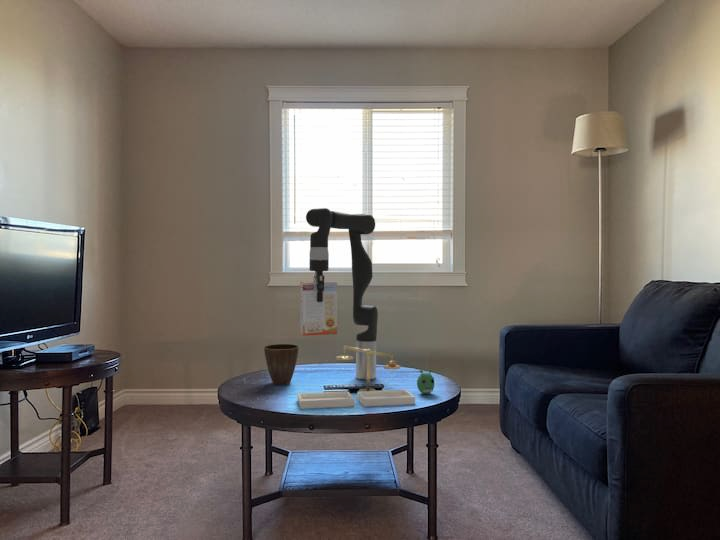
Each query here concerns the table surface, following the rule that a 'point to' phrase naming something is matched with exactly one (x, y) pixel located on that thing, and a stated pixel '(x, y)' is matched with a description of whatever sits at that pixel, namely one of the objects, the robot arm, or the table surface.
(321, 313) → the cracker box
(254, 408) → the table surface
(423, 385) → the alien toy
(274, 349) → the plant pot
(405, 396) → the dish
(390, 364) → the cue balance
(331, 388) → the table surface
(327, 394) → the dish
